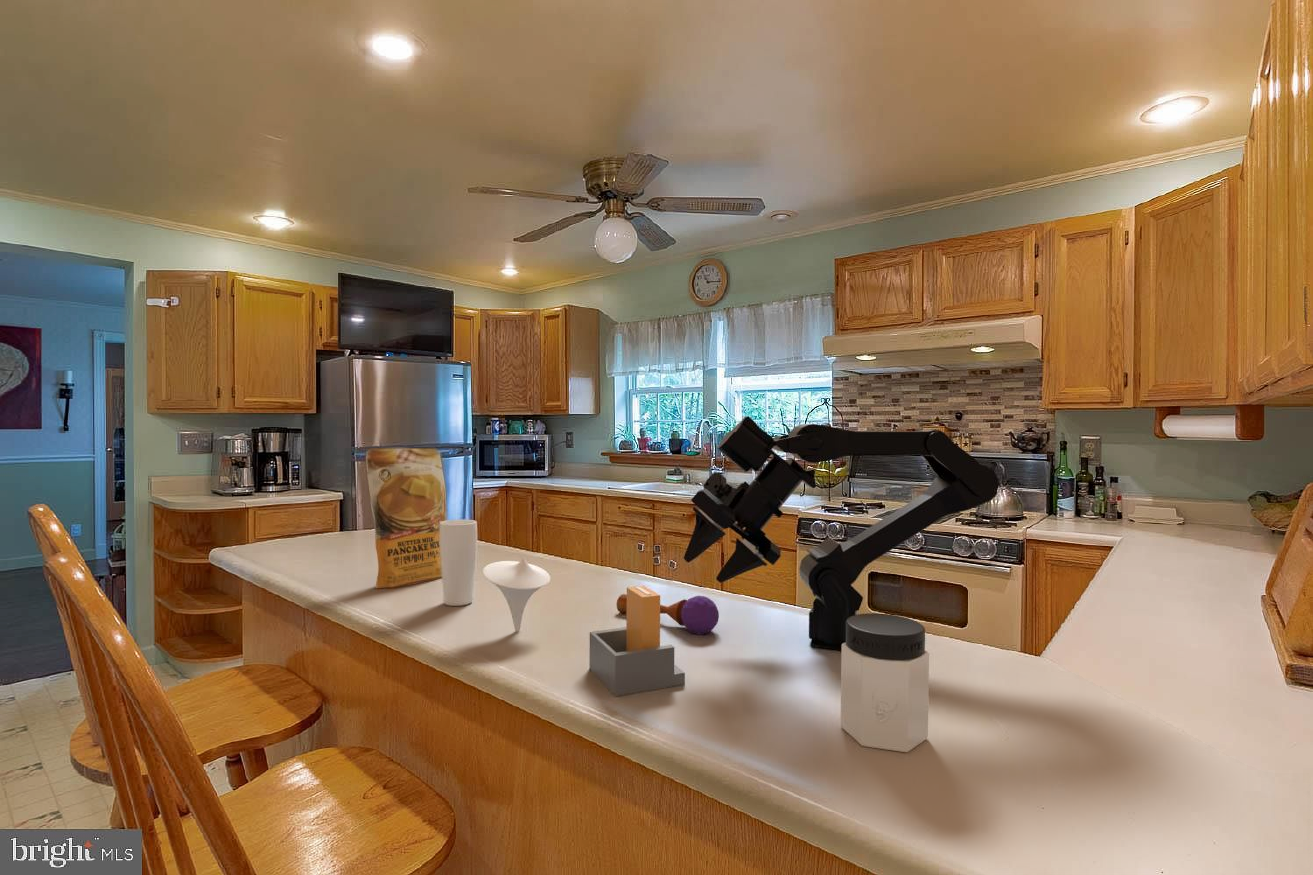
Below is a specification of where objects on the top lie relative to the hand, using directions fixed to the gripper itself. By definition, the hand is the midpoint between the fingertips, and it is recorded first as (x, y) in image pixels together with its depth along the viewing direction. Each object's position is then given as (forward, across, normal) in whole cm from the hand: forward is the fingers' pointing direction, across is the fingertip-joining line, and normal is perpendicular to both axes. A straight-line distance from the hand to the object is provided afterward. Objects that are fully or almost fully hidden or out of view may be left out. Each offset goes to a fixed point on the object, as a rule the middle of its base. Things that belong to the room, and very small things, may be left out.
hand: (702, 571), depth 100 cm
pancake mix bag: (+46, +4, -54) cm, 71 cm away
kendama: (+12, -9, -6) cm, 16 cm away
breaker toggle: (+13, +9, +9) cm, 18 cm away
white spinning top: (+27, +8, -14) cm, 32 cm away
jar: (-2, +3, +35) cm, 36 cm away
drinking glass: (+36, +6, -34) cm, 50 cm away
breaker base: (+15, +9, +10) cm, 20 cm away
